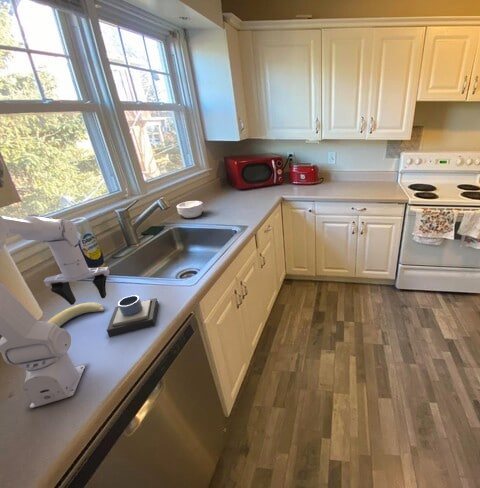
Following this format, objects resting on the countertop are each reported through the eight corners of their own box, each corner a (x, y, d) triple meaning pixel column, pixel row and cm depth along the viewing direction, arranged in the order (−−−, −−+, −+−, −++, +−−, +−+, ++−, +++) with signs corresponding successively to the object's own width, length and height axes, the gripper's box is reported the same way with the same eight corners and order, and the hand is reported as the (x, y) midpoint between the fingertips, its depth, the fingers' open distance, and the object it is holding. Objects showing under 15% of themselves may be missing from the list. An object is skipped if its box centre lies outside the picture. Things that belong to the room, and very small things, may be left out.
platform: (148, 319, 87) (146, 315, 87) (114, 327, 84) (112, 323, 83) (151, 302, 95) (150, 299, 94) (120, 309, 91) (119, 306, 91)
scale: (154, 325, 87) (152, 319, 86) (109, 337, 83) (106, 330, 82) (158, 303, 97) (156, 297, 96) (117, 312, 93) (115, 306, 92)
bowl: (141, 313, 87) (137, 303, 86) (120, 318, 85) (115, 308, 84) (143, 303, 92) (140, 293, 90) (124, 308, 90) (119, 298, 88)
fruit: (40, 328, 87) (35, 320, 85) (97, 303, 98) (93, 295, 96) (47, 338, 83) (42, 329, 81) (105, 310, 94) (102, 302, 93)
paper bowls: (180, 213, 183) (178, 201, 179) (205, 210, 187) (203, 199, 183) (177, 221, 170) (174, 208, 166) (204, 218, 174) (201, 206, 170)
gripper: (105, 249, 84) (120, 287, 90) (44, 259, 79) (64, 298, 85) (98, 259, 78) (115, 299, 84) (32, 270, 73) (54, 312, 79)
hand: (89, 299), depth 84 cm, fingers open, 7 cm apart
